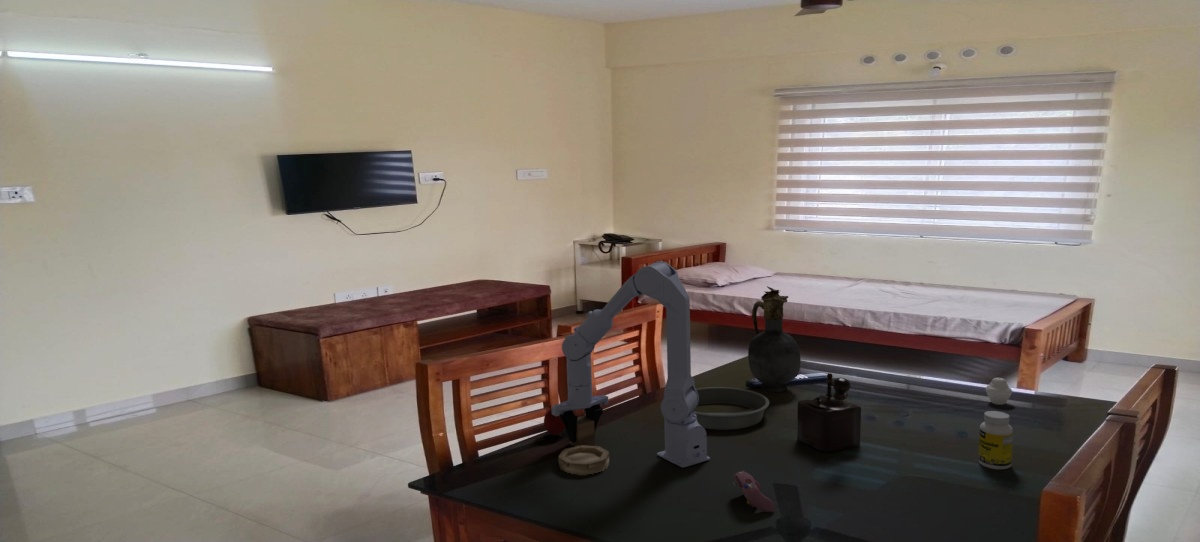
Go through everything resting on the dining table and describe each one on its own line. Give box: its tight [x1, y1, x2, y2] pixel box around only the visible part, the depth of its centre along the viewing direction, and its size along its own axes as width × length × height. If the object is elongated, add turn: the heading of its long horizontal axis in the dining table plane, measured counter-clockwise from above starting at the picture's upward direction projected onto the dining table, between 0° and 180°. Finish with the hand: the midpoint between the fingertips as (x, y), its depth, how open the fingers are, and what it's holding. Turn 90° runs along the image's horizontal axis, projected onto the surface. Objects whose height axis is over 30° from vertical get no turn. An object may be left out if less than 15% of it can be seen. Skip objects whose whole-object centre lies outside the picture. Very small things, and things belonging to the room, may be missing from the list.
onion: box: [543, 403, 566, 437], centre depth 182 cm, size 6×6×8 cm
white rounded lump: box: [985, 377, 1013, 406], centre depth 196 cm, size 6×6×7 cm
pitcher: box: [747, 286, 802, 393], centre depth 215 cm, size 11×19×30 cm, turn 19°
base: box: [557, 445, 610, 476], centre depth 163 cm, size 11×11×2 cm
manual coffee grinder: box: [796, 372, 862, 453], centre depth 169 cm, size 16×11×18 cm
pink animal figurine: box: [732, 470, 776, 513], centre depth 142 cm, size 10×5×7 cm, turn 5°
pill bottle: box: [978, 410, 1014, 471], centre depth 156 cm, size 6×6×11 cm
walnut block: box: [568, 415, 596, 446], centre depth 175 cm, size 4×4×6 cm
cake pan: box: [694, 386, 770, 430], centre depth 193 cm, size 25×25×4 cm
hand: (581, 438), depth 176 cm, fingers closed on walnut block, 4 cm apart
